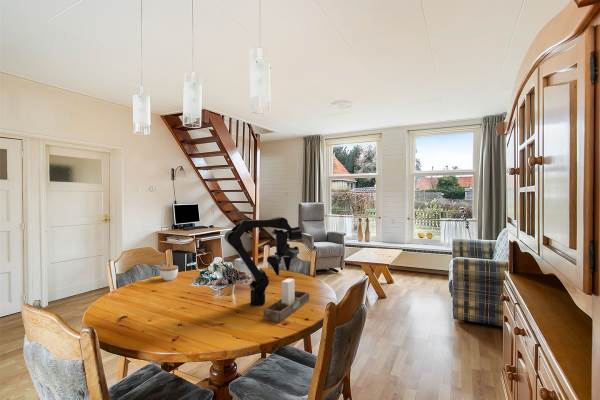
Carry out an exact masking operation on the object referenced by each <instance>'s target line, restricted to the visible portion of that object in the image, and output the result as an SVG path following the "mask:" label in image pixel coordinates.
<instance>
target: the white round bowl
mask: <svg viewBox="0 0 600 400" xmlns="http://www.w3.org/2000/svg"><path fill="white" fill-rule="evenodd" d="M178 273H179V266H178V265H173V264H172V265H171V264H168V265H164V266H161V267H159V275H160V278H161V279H162V280H163V281H165V282H170V281H174V280H175V279H176V277H177V276H178V275H179V274H178Z"/></svg>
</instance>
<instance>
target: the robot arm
mask: <svg viewBox="0 0 600 400" xmlns="http://www.w3.org/2000/svg"><path fill="white" fill-rule="evenodd" d="M253 228H254V229H258V228H260V229H261V228H272V231H271V234H272V235H275V244H274V246H273V247H274V248H275V249H276V251H275V252H274V254H271V255H268V257H266V263H268V264H269V265H270V266H271V268H272V269H273V271H274V272H275V275H276V276H279V275H280V265H281V264H282V259H283V262H284V265H285V270H286V271H287V272H288V271H290V268H291V264H292V261H293V259H295V258H297V257H298V255H299V254H300V248H299V246H293V247H291V245H290V243H288V241H289V242H295V241H301V240H302V238H303V234H302V231H301V228H300V227H299V226H294V227H291V225H290V224H289V221H288V219H287V218H286V217H283V216H282V217H281V216H276V217H271V218H268V219H241V220H240V221H239V222H238V223H237V224H236V225H235V226H233V227H232V228H231V229H230V230H228V231H226V232H225V234H224V237H223V238H224V241H225V242H226V243H228V245H229V246H231V247H232V249H233V250H235V252H236V254H237V255H238V256H239V258H241V259H242V261H243V262H244V264H245V265H246V267H247V268H248V270H249V271H250V273H251V274H250V276H251V279H252V281H251V282H250V283H249V289H250V303H249V306H264V305H265V303H266V290H267V287H268V286H269V283H270V277H269V276H268V275H267V273H266V271H265V270H263V269H262V268H258V266H257V265H256V263H255V262H254V261H253V260H252V259H251V258H252V257H251V256H250V255H249V254H250V253H248V251H247V250H246V248H245V247H244V245H243V241H242V239H241V237H242V236H243V235H244V233H245V232H246V231H247V229H253Z"/></svg>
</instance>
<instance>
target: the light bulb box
mask: <svg viewBox="0 0 600 400" xmlns="http://www.w3.org/2000/svg"><path fill="white" fill-rule="evenodd" d="M251 259H252V260H253V257H251ZM235 268H237V269H238V270H239V271H240V272H245V273H247V274H249V275H251V273H250V271H249V270H248V268H247V267H246V265H245V264H244V262H243V261H242V259H241V258H240V257H239V258H235V259H234V269H235Z"/></svg>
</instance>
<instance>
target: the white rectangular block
mask: <svg viewBox="0 0 600 400" xmlns="http://www.w3.org/2000/svg"><path fill="white" fill-rule="evenodd" d="M295 282H296V281H295V279H294V278H286V279H284V280H282V281H281V299H282V303H285V304H292V303H293V302H295V291H296V290H295V286H296V285H295Z"/></svg>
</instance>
